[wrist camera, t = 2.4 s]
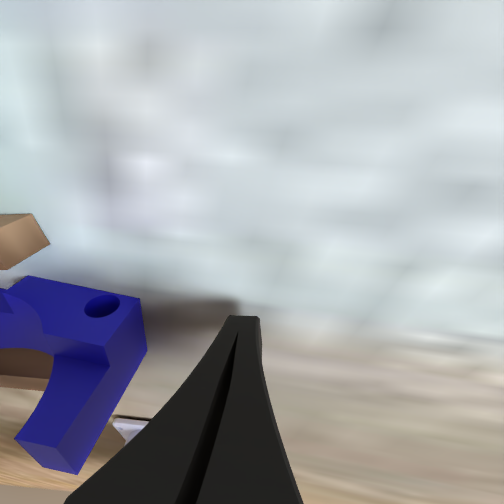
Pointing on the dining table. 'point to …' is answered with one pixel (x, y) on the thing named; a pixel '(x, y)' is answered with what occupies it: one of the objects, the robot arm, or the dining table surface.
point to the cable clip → (72, 362)
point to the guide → (3, 258)
